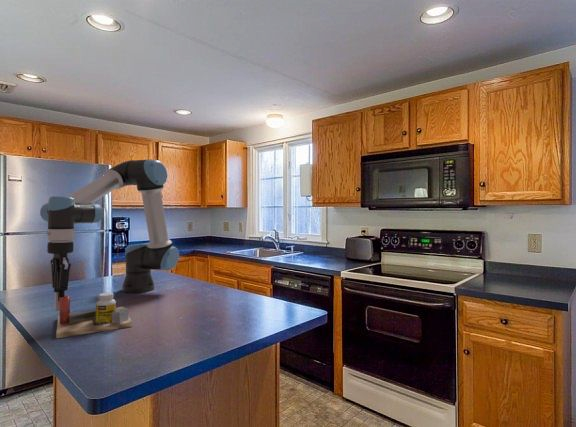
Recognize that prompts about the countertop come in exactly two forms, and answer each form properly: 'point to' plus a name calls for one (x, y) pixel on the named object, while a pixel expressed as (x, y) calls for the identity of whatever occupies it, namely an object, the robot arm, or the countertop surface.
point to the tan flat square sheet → (86, 327)
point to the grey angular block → (120, 316)
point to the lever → (65, 312)
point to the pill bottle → (105, 308)
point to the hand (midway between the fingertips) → (59, 309)
